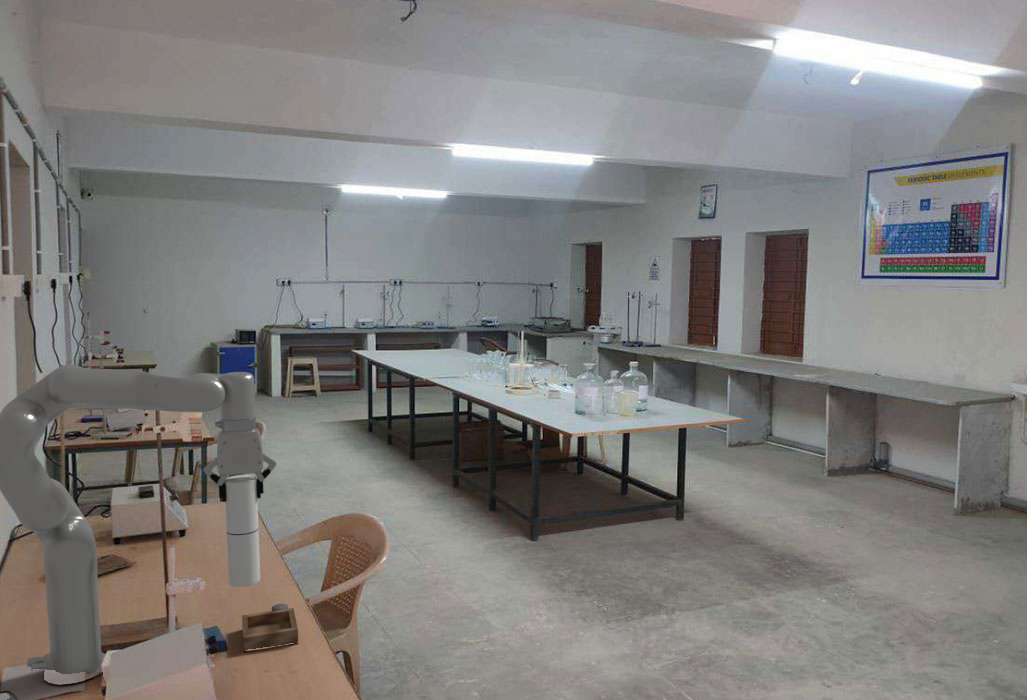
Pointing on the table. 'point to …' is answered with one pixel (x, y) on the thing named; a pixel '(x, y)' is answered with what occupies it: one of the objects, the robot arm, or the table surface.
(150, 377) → the robot arm
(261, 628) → the walnut stand
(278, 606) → the rubber stopper
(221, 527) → the table surface
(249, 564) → the cylindrical container
